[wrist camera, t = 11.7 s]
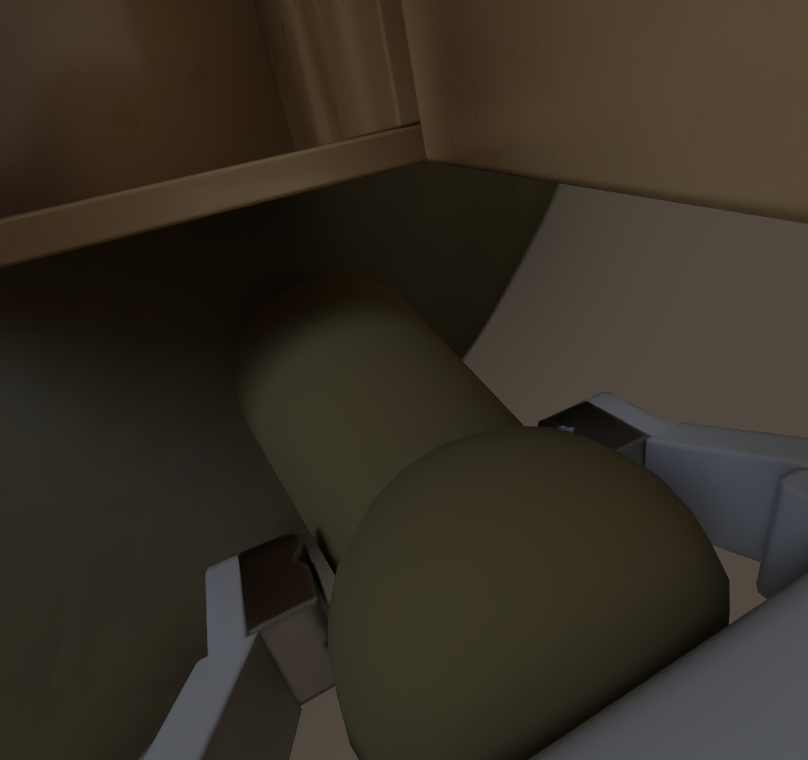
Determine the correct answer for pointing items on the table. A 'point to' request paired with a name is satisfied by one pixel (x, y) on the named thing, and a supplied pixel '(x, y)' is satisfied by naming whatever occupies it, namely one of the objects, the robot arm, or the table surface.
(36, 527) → the table surface
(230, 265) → the table surface
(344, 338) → the olive tapered rounded piece
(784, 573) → the robot arm
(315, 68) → the bin
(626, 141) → the bin lid
